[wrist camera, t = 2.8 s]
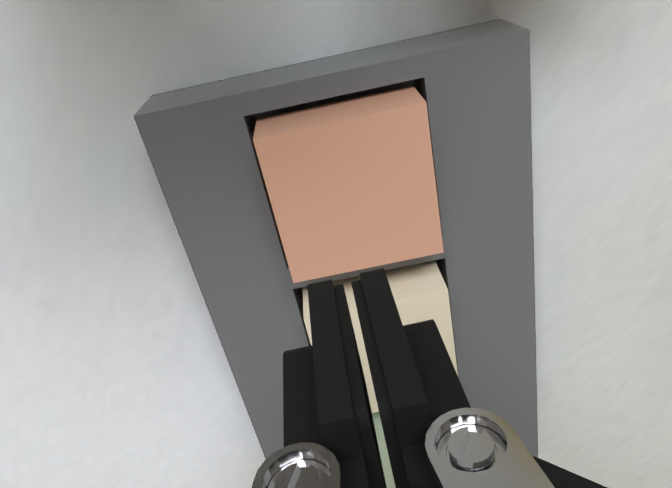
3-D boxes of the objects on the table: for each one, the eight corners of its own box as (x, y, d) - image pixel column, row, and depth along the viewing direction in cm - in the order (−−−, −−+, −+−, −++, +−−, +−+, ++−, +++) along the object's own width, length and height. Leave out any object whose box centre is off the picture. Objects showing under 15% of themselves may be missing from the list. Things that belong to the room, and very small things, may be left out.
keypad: (500, 19, 18) (529, 30, 16) (519, 431, 28) (538, 472, 26) (152, 95, 19) (133, 116, 17) (289, 475, 29) (289, 519, 26)
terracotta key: (412, 85, 17) (426, 102, 16) (430, 224, 20) (443, 252, 18) (256, 119, 17) (252, 139, 16) (293, 252, 20) (293, 283, 18)
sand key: (434, 259, 20) (448, 289, 19) (447, 360, 23) (460, 395, 21) (302, 286, 21) (303, 319, 19) (329, 384, 23) (332, 420, 21)
